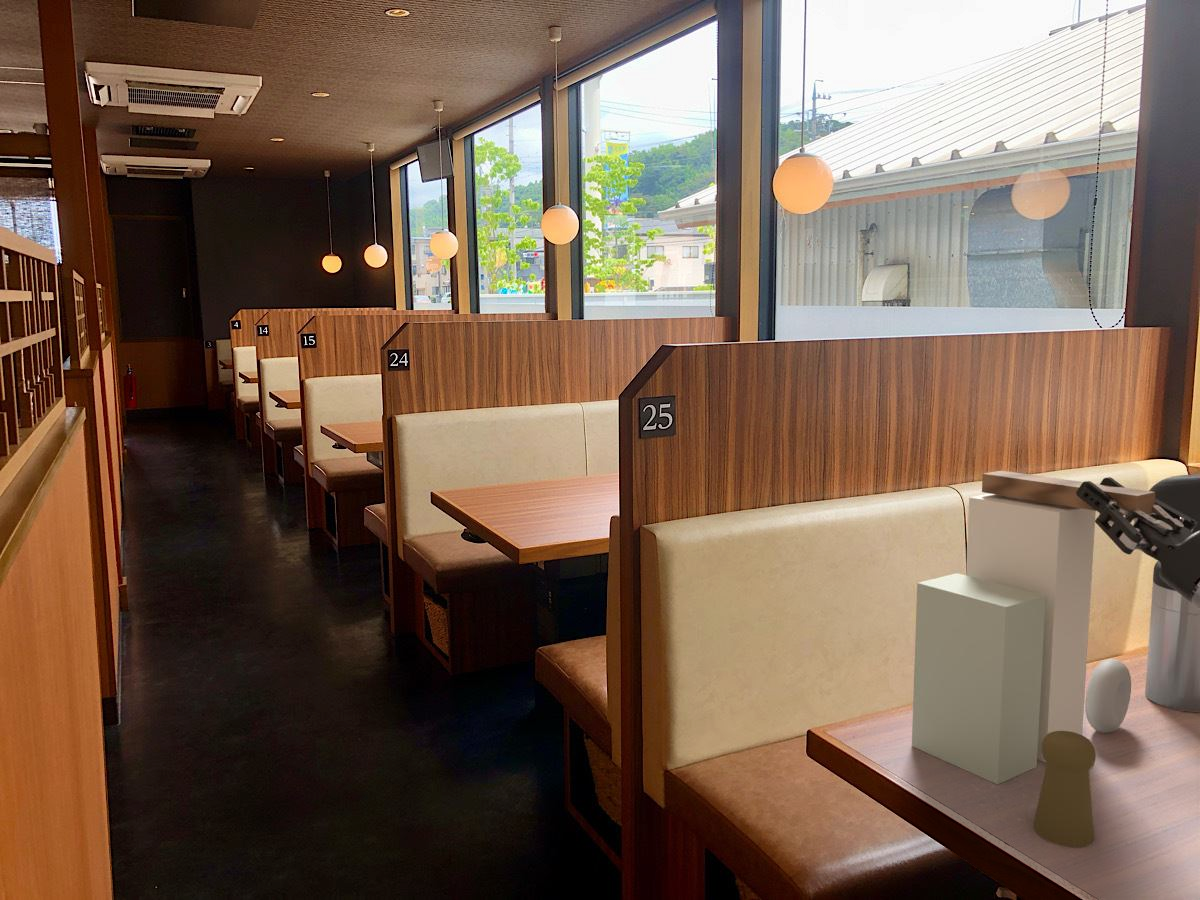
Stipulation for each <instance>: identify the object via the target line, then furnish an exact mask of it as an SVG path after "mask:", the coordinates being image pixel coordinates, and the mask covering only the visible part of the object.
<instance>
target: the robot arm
mask: <svg viewBox="0 0 1200 900" xmlns="http://www.w3.org/2000/svg"><path fill="white" fill-rule="evenodd" d="M1082 482H1083V483H1082V484H1081V486H1080V487H1079V489H1078V490H1077V492H1076V494H1077V496H1078V497H1079V498H1080V499H1082V500H1083V501H1084V502H1086V503H1087V504H1088V505H1090V506H1091V507H1092V508H1094V509H1095V510H1096V513H1097V512H1098V513H1099V515H1098V516H1097V517H1096V518H1095V525H1097V526H1098V527H1099V528H1100V529H1101V530H1102V532H1104V534H1105V535H1107V536H1108V538H1109V539H1110V540H1111V541H1112V542H1113V543H1114V544H1115V545H1116V546H1117V548H1119V550H1121V552H1123V553H1124V554H1127V555H1131V554H1133V552H1134V551H1135V550H1139V551H1140V552H1142V553H1144V554H1145V555H1146V556H1148V557H1151V558H1153V559H1154V560H1156V563H1155V564H1154V567H1153V572H1152V573H1153V574H1152V575H1153V576H1152V587H1151V589H1152V590H1151V606H1150V616H1149V617H1150V620H1149V621H1150V622H1149V634H1148V646H1147V647H1148V648H1147V660H1146V661H1147V662H1146V672H1145V673H1146V674H1145V675H1146V676H1145V688H1144V689H1145V690H1144V693H1145V696H1146V698H1147V699H1149V701H1152V702H1154V703H1155V704H1157V705H1160V706H1163V707H1166V708H1170V709H1173V710H1177V711H1183V712H1190V713H1200V473H1193V474H1182V475H1173V476H1169V477H1167V478H1164V479H1161V480H1159V481H1158V482H1156V484H1154V485H1153V486H1151V488H1150V489H1149V490H1148V491H1152V492H1155V505H1154V506H1152V512H1153V513H1152V514H1146V513H1144V512H1142V511H1141V510H1139V509H1128V508H1127V507H1125V506H1124V505H1123V504H1121V503H1119V502H1118V501H1116V500H1114V499H1113V498H1112V497H1111V496H1109V495H1108V494H1107V493H1105V492H1104V491H1103V490H1102V489H1100V488H1099V487H1098V486H1096V485H1095V484H1096V483H1094V484H1093V482H1092V481H1090V480H1086V481H1082ZM1099 484H1101V485H1108V486H1115V487H1123V488H1126V487H1125V486H1123V485H1122V484H1121V483H1120V482H1118V481H1116V480H1115V479H1114V478H1113V477H1110V476H1108V477H1105V478H1103V479H1102V480H1101V481H1100V483H1099ZM1120 512H1121V513H1123V514H1124V515H1122V514H1121V513H1120ZM1132 522H1134V524H1132Z"/></svg>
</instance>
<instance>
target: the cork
mask: <svg viewBox="0 0 1200 900" xmlns="http://www.w3.org/2000/svg"><path fill="white" fill-rule="evenodd" d="M1096 754H1097V752H1096V749H1095V745H1094V744H1093V742H1092V740H1090V739H1089V738H1087V737H1086V736H1084V735H1083V734H1082V735H1080V734H1078V733H1074V732H1069V731H1054V732H1051V733H1048V734H1047V735H1046V737H1045V738H1044V739H1043V742H1042V755H1043V758H1044V759H1045V761H1046V762H1045V768H1044V772H1043V777H1042V782H1041V785H1040V786H1041V787H1040V790H1039V796H1038V801H1037V805H1036V810H1035V815H1034V820H1033V825H1032V826H1033V830H1034V831H1035V833H1036V835H1038V836H1039V837H1040V838H1042V839H1044V840H1046V841H1048V842H1050V843H1052V844H1055V845H1058V846H1062V847H1068V848H1086V847H1088V846H1091V845H1093V844H1094V842H1095V840H1096V837H1095V827H1094V825H1095V823H1094V814H1093V803H1092V794H1091V793H1092V791H1091V783H1090V782H1091V780H1090V770H1091V769H1092V767H1094V765H1095V763H1096V757H1097V755H1096Z"/></svg>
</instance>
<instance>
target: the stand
mask: <svg viewBox="0 0 1200 900" xmlns="http://www.w3.org/2000/svg"><path fill="white" fill-rule="evenodd" d="M1096 513H1097V511H1094V510H1088V509H1082V508H1076V507H1070V506H1064V505H1058V504H1051V503H1045V502H1039V501H1033V500H1027V499H1021V498H1015V497H1008V496H1002V495H996V494H990V493H985V494H981V495H976V496H969V498H968V520H967V523H968V524H967V540H966V541H967V545H966V567H965V568H966V569H965V574H962V573H957V572H955V573H953V574H947V575H943V576H940V577H939V576H938V577H937V578H933V579H927V580H923V581H919V582H916V583H917V585H916V610H915V612H916V613H915V615H916V616H915V635H914V636H915V637H914V638H915V642H914V667H913V668H914V669H913V671H914V672H913V673H914V674H913V696H912V697H913V699H912V700H913V702H912V725H911V726H912V730H911V732H912V733H911V746H912V747H914V748H915V749H917V750H920V751H923V752H924V753H926V754H929V755H931V756H933V757H936V758H938V759H940V760H942V761H944V762H946V763H949V764H951V765H953V766H956V767H958V768H960V769H962V770H964V771H967V772H969V773H971V774H973V775H976V776H978V777H980V778H982V779H984V780H986V781H989V782H991V783H993V784H996V785H1000V784H1002V783H1004V782H1006V781H1009V780H1011V779H1013V778H1015V777H1017V776H1020V775H1022V774H1024V773H1026V772H1028V771H1030V770H1032V769H1035V768H1037V766H1038V765H1037V764H1038V762H1037V761H1038V760H1039V761H1042V762H1044V763H1046V761H1045V759H1044V758H1043V755H1042V742H1043V739H1044V738H1045V737H1046V735H1047V734H1048V733H1051V732H1054V731H1069V732H1074V733H1078V734H1080V735H1083V728H1084V727H1083V726H1084V711H1085V698H1086V696H1085V694H1086V678H1087V660H1088V647H1089V646H1088V644H1089V627H1090V608H1091V599H1092V598H1091V596H1092V582H1093V581H1092V578H1093V577H1092V575H1093V561H1094V547H1095V545H1094V543H1095V530H1096V528H1095V527H1096V522H1095V520H1096V516H1097V515H1096Z"/></svg>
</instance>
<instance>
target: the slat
mask: <svg viewBox="0 0 1200 900" xmlns="http://www.w3.org/2000/svg"><path fill="white" fill-rule="evenodd" d="M981 477H982V481H981V493H985V494H996V495H1002V496H1008V497H1015V498H1021V499H1027V500H1033V501H1039V502H1045V503H1051V504H1058V505H1064V506H1070V507H1076V508H1082V509H1088V510H1094V511H1096V510H1095V509H1094V508H1092V507H1091V506H1090V505H1088V504H1087V503H1086V502H1084V501H1083V500H1082V499H1080V498H1079V497H1078V496H1077V494H1076V492H1077V490H1078V489H1079V487H1080V486H1081V484H1082V483H1083V482H1084V481H1078V480H1070V479H1065V478H1056V477H1050V476H1042V475H1036V474H1028V473H1021V472H1014V471H1007V470H997V471H990V472H984V473H983V472H982V476H981ZM1092 483H1093V482H1092ZM1093 484H1095V485H1096V486H1098V487H1099V488H1100V489H1102V490H1103V491H1104V492H1105V493H1107V494H1108V495H1109V496H1111V497H1112V498H1113V499H1114V500H1116V501H1118V502H1119V503H1121V504H1123V505H1124V506H1125V507H1127V508H1128V509H1139V510H1141V511H1142V512H1144V513H1146V514H1152V513H1153V512H1152V506H1154V505H1155V492H1152V491H1149V490H1144V489H1143V490H1142V489H1136V488H1131V487H1130V488H1129V487H1125V488H1123V487H1115V486H1108V485H1101V484H1100V483H1093ZM1096 512H1097V511H1096ZM1120 513H1121V512H1120ZM1121 514H1122V515H1123V516H1125V515H1124V514H1123V513H1121Z"/></svg>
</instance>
